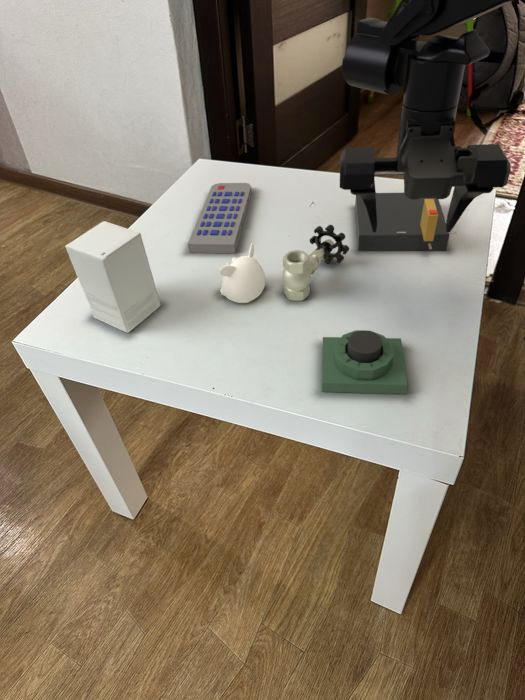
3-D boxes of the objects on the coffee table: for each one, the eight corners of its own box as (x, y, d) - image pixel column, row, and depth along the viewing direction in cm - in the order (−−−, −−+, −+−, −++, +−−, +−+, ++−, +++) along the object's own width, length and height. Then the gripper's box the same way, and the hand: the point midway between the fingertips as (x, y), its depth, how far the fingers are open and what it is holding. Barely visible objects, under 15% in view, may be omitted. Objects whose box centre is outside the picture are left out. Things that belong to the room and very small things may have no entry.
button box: (399, 347, 65) (402, 327, 62) (405, 394, 59) (410, 374, 57) (322, 346, 66) (323, 326, 64) (321, 391, 60) (322, 372, 58)
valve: (308, 308, 72) (348, 266, 78) (308, 271, 67) (350, 230, 74) (271, 294, 75) (312, 255, 81) (268, 257, 70) (312, 219, 77)
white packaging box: (162, 305, 74) (142, 232, 66) (127, 335, 70) (101, 260, 61) (128, 290, 78) (104, 218, 69) (92, 318, 74) (62, 245, 65)
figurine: (243, 272, 79) (239, 236, 75) (276, 284, 76) (274, 248, 72) (211, 299, 75) (205, 263, 70) (245, 313, 72) (241, 276, 67)
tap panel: (439, 207, 89) (443, 190, 87) (457, 265, 77) (462, 248, 74) (354, 208, 91) (356, 192, 89) (358, 265, 78) (360, 248, 76)
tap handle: (420, 224, 80) (424, 197, 77) (428, 224, 80) (434, 197, 77) (423, 241, 77) (429, 213, 73) (433, 241, 76) (438, 213, 73)
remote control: (189, 253, 84) (186, 242, 83) (214, 189, 100) (213, 179, 98) (235, 254, 83) (233, 243, 82) (253, 189, 99) (252, 179, 97)
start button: (379, 340, 62) (380, 330, 60) (381, 363, 59) (383, 353, 58) (346, 340, 62) (347, 329, 61) (347, 363, 59) (348, 352, 58)
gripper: (341, 134, 49) (337, 266, 60) (543, 128, 46) (500, 267, 57) (342, 96, 57) (338, 219, 68) (515, 89, 54) (481, 218, 65)
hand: (410, 230), depth 64 cm, fingers open, 9 cm apart
